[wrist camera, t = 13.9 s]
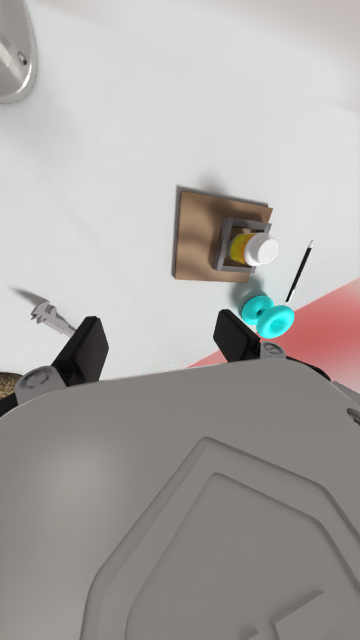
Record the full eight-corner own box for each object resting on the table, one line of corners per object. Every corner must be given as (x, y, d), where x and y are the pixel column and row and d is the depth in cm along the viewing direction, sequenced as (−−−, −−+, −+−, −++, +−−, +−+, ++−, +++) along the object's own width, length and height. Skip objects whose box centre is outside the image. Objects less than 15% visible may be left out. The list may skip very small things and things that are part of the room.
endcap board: (180, 192, 26) (185, 186, 22) (268, 209, 30) (282, 206, 27) (174, 278, 34) (177, 282, 31) (244, 281, 38) (252, 285, 35)
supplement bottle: (223, 261, 33) (249, 269, 24) (227, 233, 30) (258, 232, 21) (244, 259, 33) (277, 267, 25) (249, 233, 30) (289, 231, 22)
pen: (283, 305, 46) (286, 306, 45) (309, 240, 36) (314, 240, 35) (285, 305, 46) (288, 306, 45) (312, 240, 36) (316, 240, 35)
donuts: (262, 316, 33) (300, 302, 33) (239, 300, 41) (270, 289, 41) (260, 345, 38) (293, 333, 38) (240, 325, 46) (267, 315, 46)
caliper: (44, 301, 31) (23, 314, 26) (48, 299, 31) (28, 312, 26) (104, 355, 42) (97, 372, 37) (107, 354, 42) (101, 370, 37)
